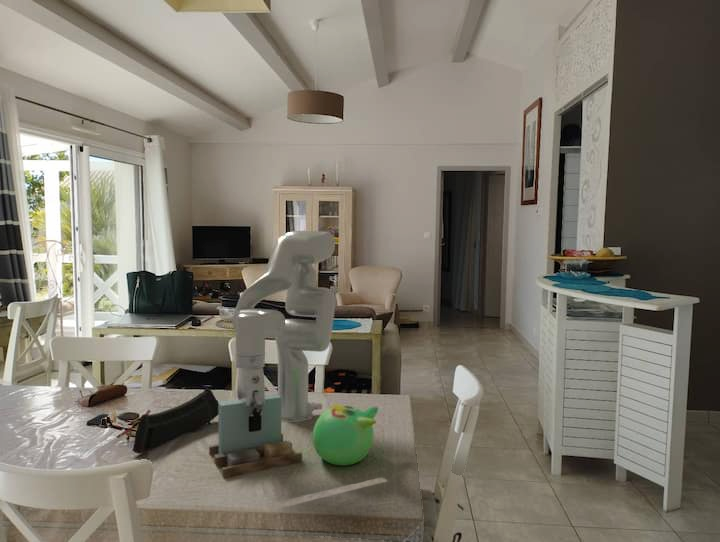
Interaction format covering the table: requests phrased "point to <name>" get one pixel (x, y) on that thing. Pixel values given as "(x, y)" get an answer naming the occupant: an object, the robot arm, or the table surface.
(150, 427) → the magazine
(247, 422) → the panel
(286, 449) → the offcut
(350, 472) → the table surface
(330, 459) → the toy bird
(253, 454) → the offcut
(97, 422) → the phone
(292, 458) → the rack
